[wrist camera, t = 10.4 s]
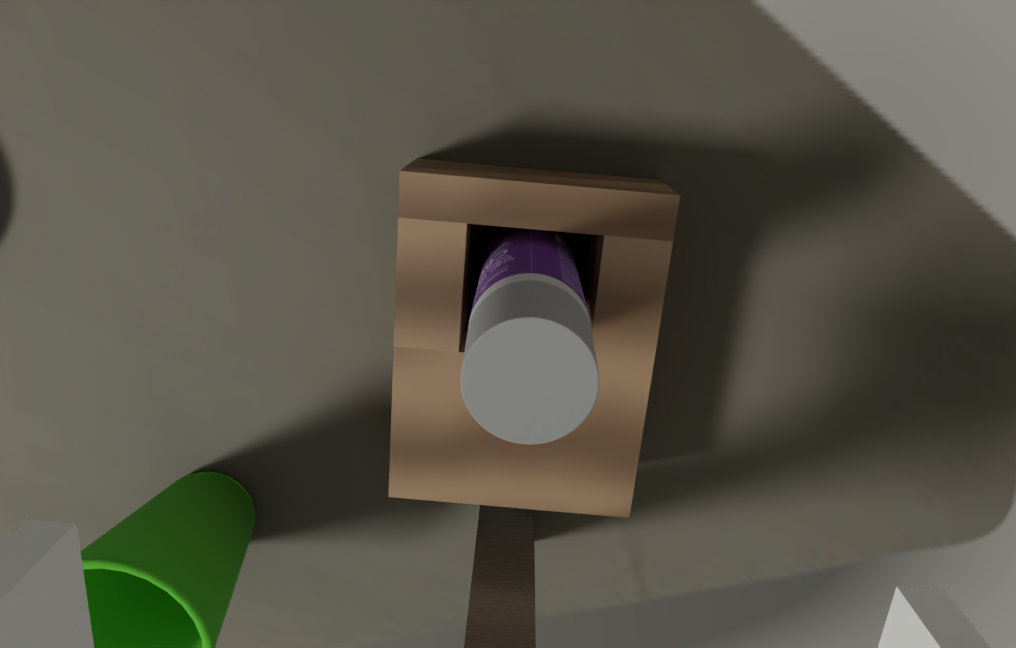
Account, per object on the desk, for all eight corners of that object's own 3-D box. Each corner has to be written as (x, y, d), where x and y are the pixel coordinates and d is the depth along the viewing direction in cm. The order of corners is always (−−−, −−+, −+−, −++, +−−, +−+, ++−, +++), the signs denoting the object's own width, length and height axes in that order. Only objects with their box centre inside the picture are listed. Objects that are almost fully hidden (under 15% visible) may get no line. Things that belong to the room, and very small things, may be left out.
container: (495, 211, 37) (474, 297, 22) (585, 234, 37) (621, 332, 23) (474, 298, 38) (442, 430, 24) (561, 319, 38) (581, 462, 24)
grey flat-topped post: (425, 384, 40) (320, 699, 20) (609, 400, 40) (691, 731, 20) (417, 540, 43) (320, 947, 23) (587, 555, 43) (639, 975, 23)
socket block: (416, 158, 36) (399, 171, 31) (660, 179, 36) (680, 195, 31) (404, 448, 41) (388, 496, 36) (617, 466, 41) (629, 517, 36)
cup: (216, 598, 45) (121, 756, 34) (103, 496, 43) (-34, 632, 32) (322, 519, 43) (256, 662, 32) (209, 408, 41) (99, 523, 30)
